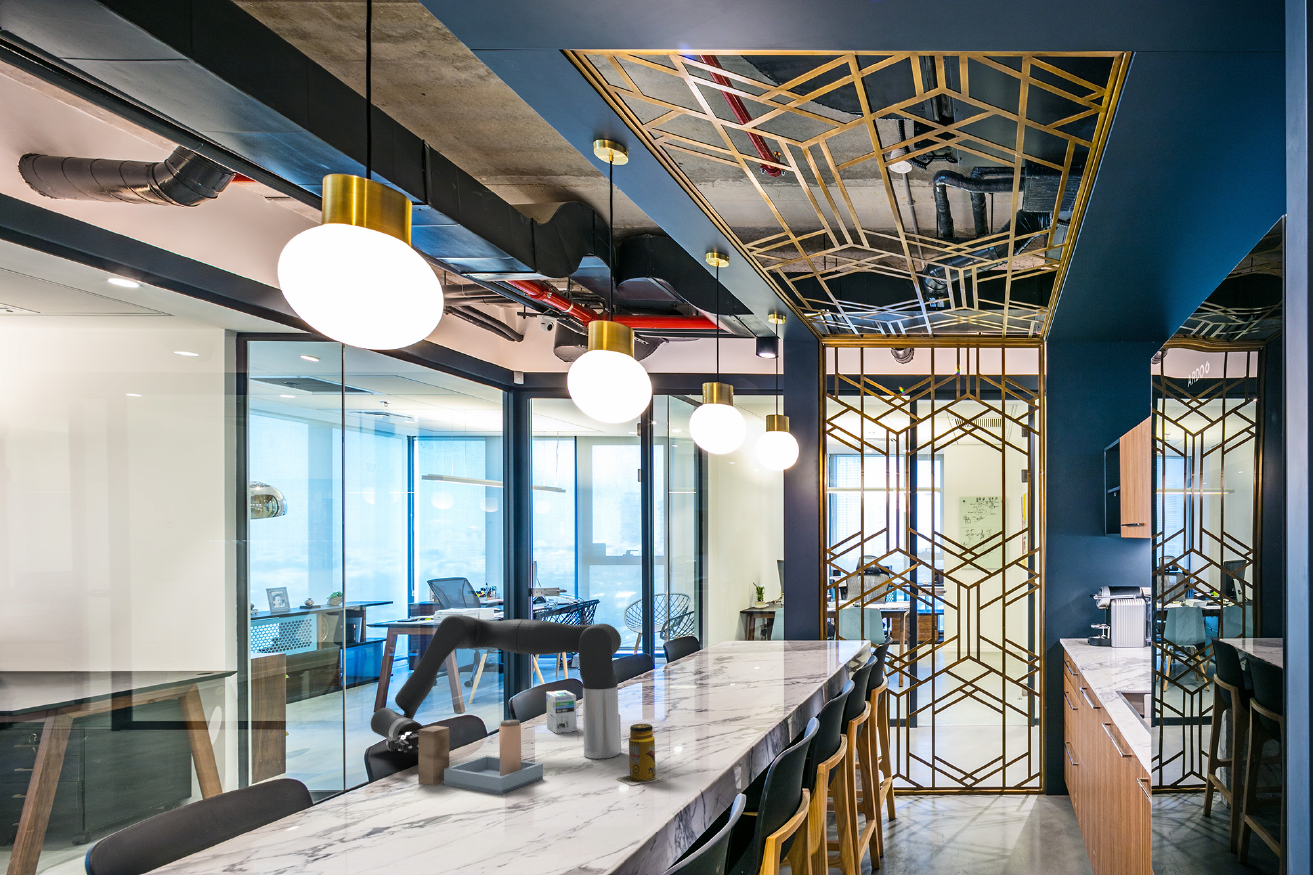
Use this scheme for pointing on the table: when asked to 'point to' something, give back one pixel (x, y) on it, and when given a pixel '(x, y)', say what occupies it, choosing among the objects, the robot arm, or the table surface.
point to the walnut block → (433, 754)
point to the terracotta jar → (510, 746)
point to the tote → (491, 775)
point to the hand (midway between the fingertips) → (424, 745)
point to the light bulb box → (561, 711)
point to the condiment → (641, 755)
